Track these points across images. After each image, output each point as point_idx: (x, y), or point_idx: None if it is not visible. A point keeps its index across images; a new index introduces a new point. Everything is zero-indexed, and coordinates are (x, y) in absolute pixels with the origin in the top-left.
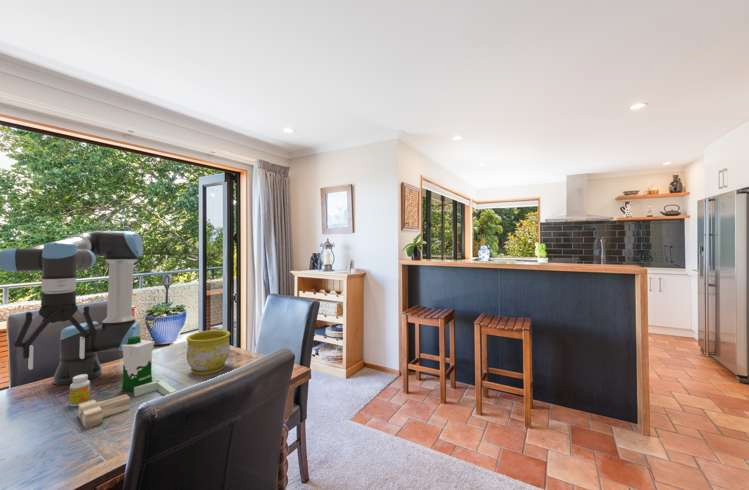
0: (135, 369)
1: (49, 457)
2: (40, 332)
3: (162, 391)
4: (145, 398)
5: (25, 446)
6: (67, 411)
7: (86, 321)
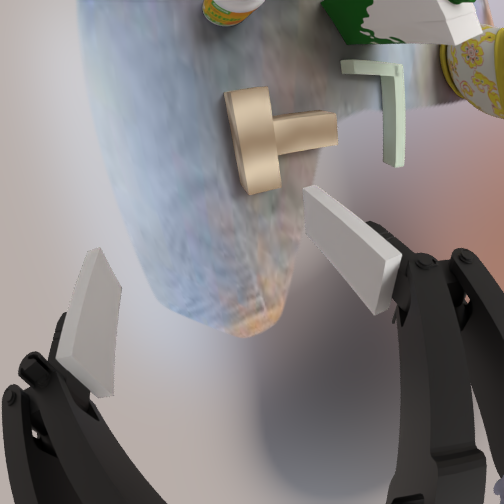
0: (387, 35)
1: (194, 266)
2: (153, 491)
3: (387, 113)
4: (355, 104)
5: (143, 199)
6: (199, 45)
7: (488, 385)
